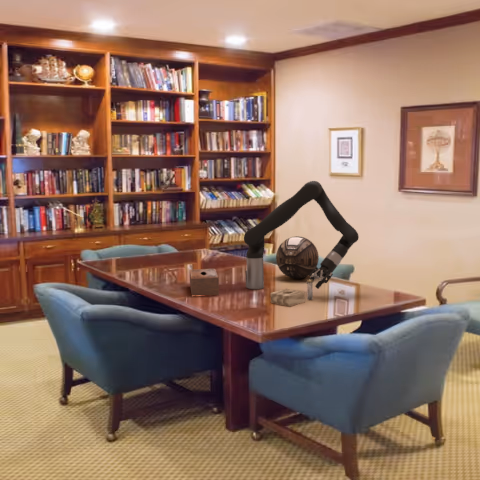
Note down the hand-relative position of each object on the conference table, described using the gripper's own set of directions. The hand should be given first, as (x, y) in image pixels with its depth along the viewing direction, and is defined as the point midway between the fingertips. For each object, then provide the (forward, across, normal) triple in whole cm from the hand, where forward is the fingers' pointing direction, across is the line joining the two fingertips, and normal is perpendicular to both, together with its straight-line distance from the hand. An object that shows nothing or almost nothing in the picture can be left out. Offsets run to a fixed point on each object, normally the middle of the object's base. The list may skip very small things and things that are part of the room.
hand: (312, 286), depth 306 cm
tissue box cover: (+34, -46, -24) cm, 62 cm away
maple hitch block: (+15, 0, -5) cm, 16 cm away
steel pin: (+6, 0, +4) cm, 7 cm away
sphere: (-9, -49, +18) cm, 53 cm away
